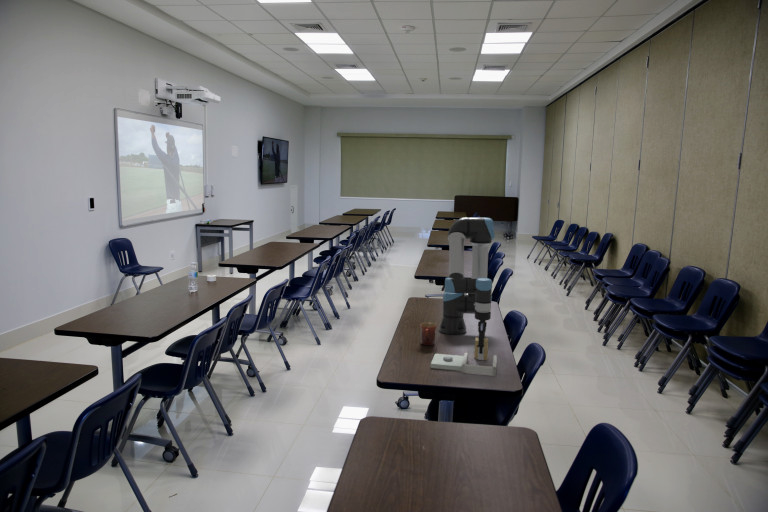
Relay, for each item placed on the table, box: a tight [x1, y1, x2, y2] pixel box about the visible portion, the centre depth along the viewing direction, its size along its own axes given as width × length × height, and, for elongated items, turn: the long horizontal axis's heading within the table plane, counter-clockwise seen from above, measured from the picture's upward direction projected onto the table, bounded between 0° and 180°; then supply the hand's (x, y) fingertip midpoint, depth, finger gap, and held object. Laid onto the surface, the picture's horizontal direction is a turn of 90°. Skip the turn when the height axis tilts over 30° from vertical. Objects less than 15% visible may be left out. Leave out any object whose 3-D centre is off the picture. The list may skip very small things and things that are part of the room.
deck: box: [430, 352, 498, 377], centre depth 231 cm, size 17×29×4 cm, turn 76°
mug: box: [419, 322, 437, 346], centre depth 260 cm, size 12×9×10 cm
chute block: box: [473, 337, 489, 361], centre depth 242 cm, size 5×6×9 cm
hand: (481, 356), depth 243 cm, fingers open, 7 cm apart
